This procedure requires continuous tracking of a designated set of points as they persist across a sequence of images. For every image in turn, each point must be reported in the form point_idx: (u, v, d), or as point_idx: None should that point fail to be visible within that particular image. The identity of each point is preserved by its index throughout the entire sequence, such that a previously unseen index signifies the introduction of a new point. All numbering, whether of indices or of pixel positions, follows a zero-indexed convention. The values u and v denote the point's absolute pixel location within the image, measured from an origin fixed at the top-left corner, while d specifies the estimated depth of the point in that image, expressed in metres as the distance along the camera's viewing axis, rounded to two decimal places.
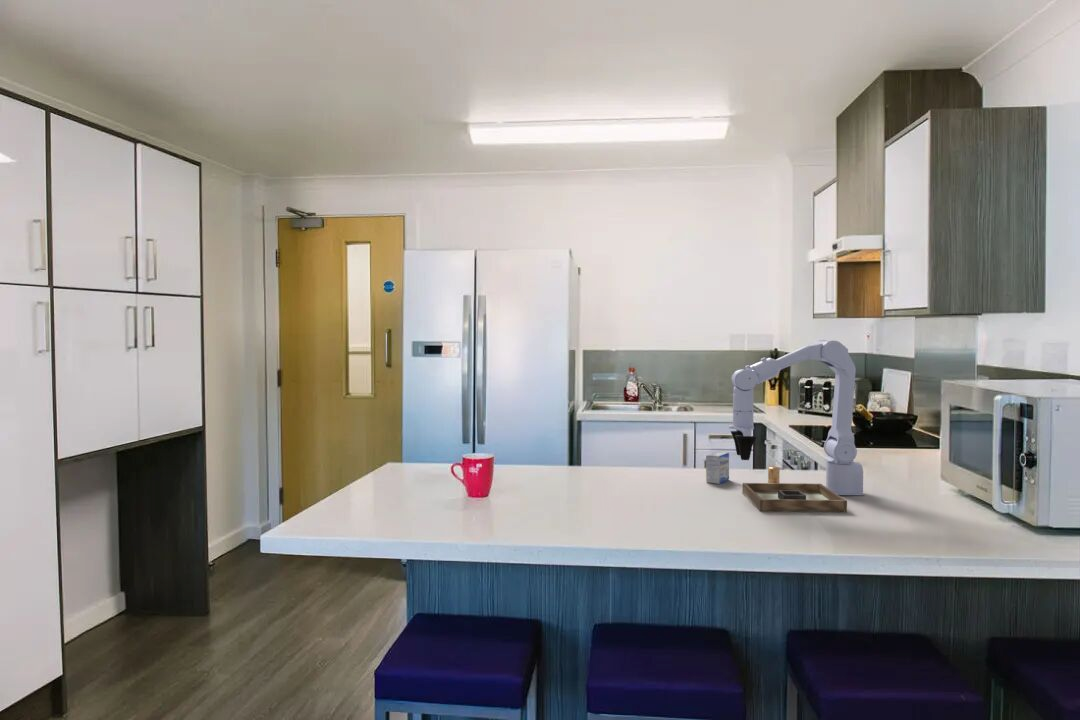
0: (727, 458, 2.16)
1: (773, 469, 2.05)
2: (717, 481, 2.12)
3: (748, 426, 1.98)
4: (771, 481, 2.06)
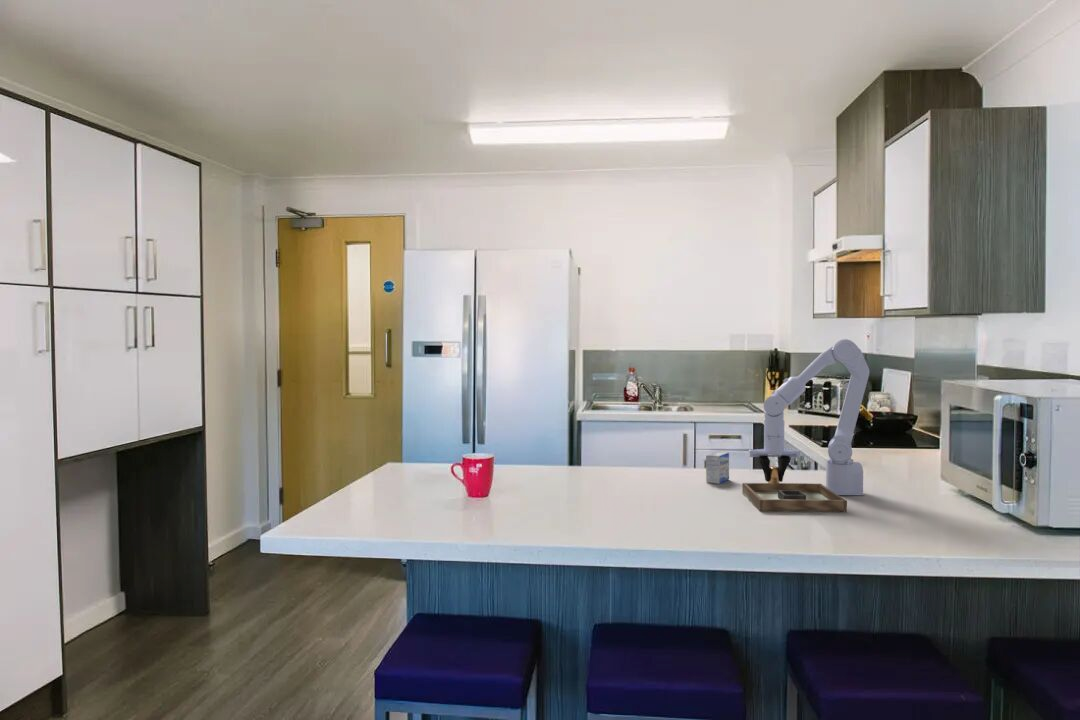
0: (727, 458, 2.16)
1: (773, 469, 2.05)
2: (717, 481, 2.12)
3: (765, 450, 2.06)
4: (771, 481, 2.06)
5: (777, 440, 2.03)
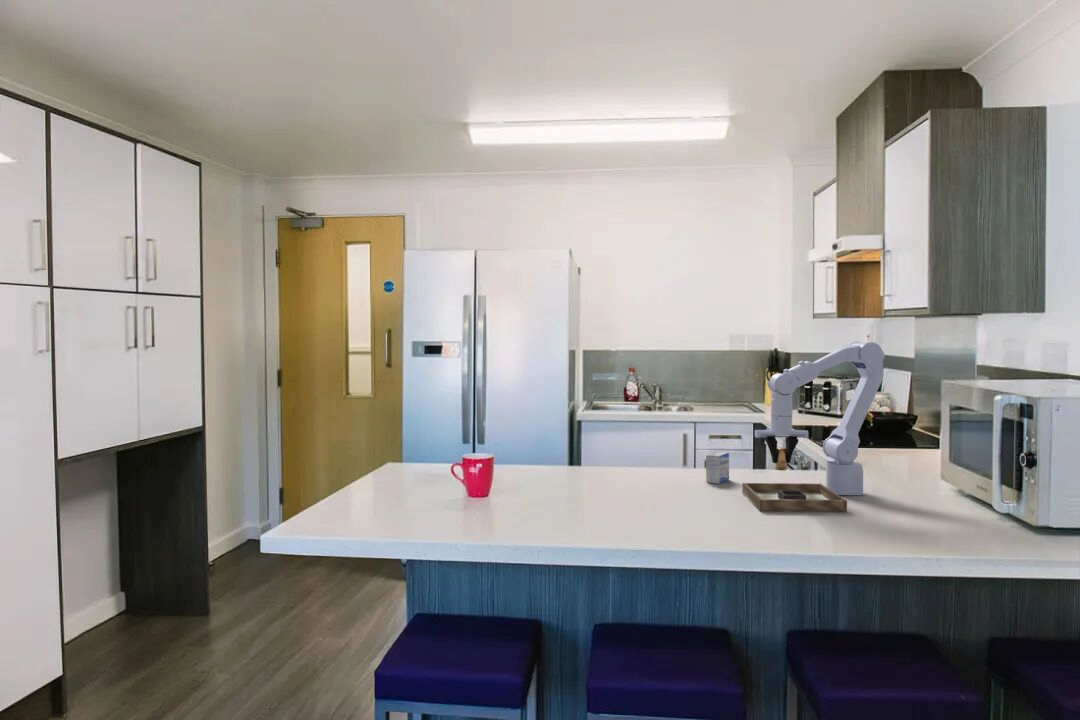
0: (727, 458, 2.16)
1: (780, 450, 1.97)
2: (717, 481, 2.12)
3: (772, 430, 1.98)
4: (778, 463, 1.98)
5: (785, 420, 1.96)
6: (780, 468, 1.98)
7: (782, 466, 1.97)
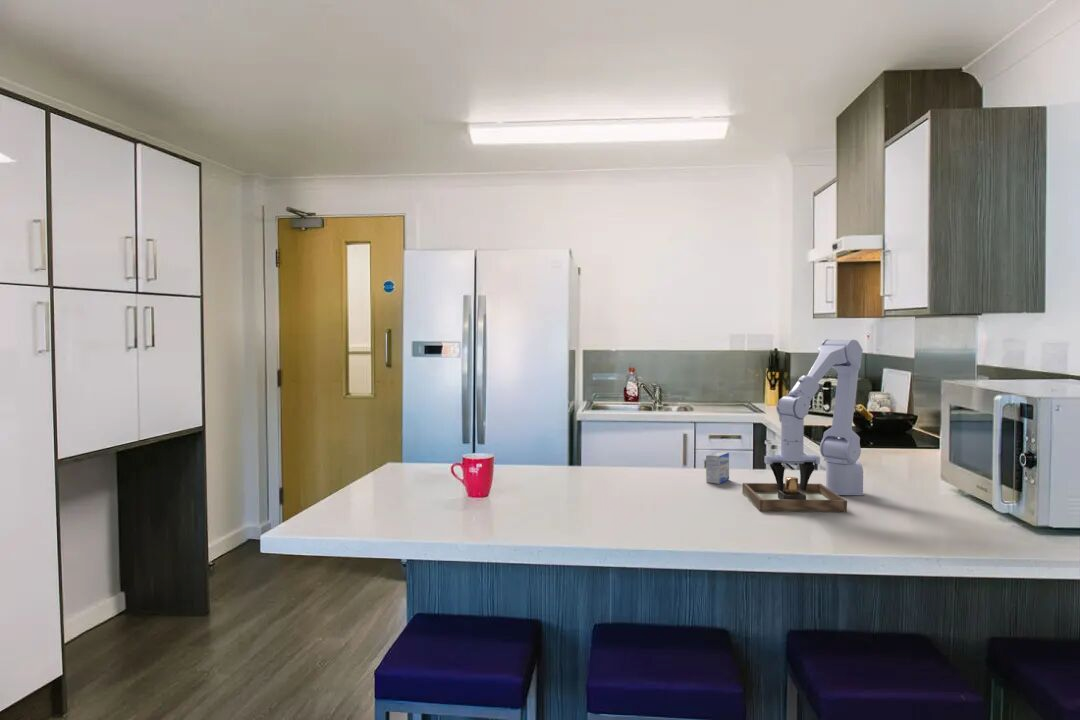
0: (727, 458, 2.16)
1: (792, 480, 1.87)
2: (717, 481, 2.12)
3: (783, 456, 1.87)
4: (789, 493, 1.88)
5: (797, 445, 1.85)
6: None
7: None
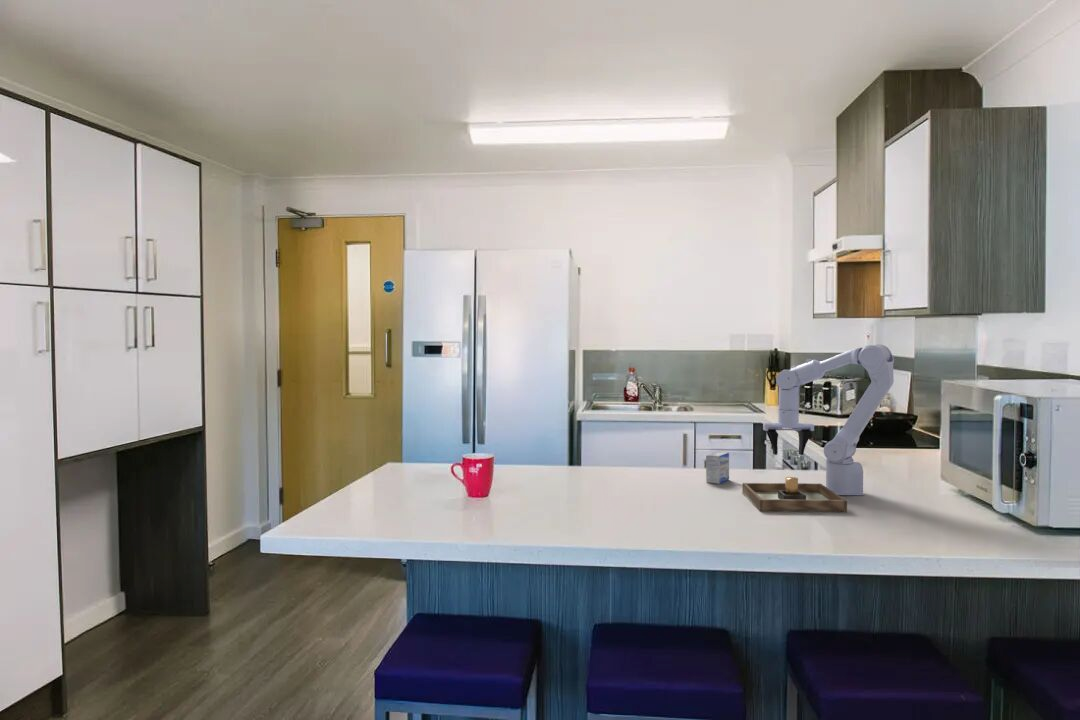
0: (727, 458, 2.16)
1: (792, 480, 1.87)
2: (717, 481, 2.12)
3: (780, 423, 2.08)
4: (789, 493, 1.88)
5: (792, 413, 2.06)
6: None
7: None
